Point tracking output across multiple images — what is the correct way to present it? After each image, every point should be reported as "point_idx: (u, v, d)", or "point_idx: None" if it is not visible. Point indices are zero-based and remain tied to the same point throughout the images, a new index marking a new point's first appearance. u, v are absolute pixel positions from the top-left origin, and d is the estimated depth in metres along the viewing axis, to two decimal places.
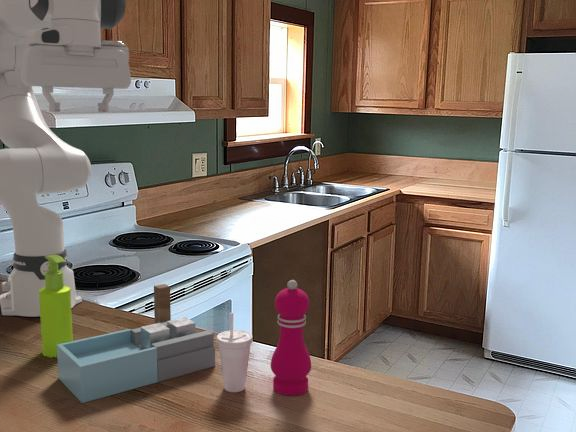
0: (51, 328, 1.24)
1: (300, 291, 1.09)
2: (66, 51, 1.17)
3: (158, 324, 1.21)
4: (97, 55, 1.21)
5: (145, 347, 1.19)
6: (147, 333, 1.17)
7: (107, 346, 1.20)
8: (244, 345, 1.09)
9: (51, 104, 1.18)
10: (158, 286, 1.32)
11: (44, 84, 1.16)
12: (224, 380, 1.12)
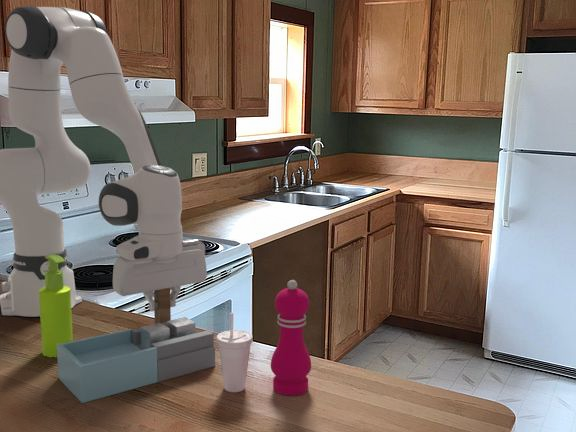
0: (51, 328, 1.24)
1: (300, 291, 1.09)
2: (153, 260, 1.29)
3: (158, 324, 1.21)
4: (179, 258, 1.32)
5: (145, 347, 1.19)
6: (147, 333, 1.17)
7: (107, 346, 1.20)
8: (244, 345, 1.09)
9: (151, 304, 1.31)
10: None
11: (134, 293, 1.27)
12: (224, 380, 1.12)
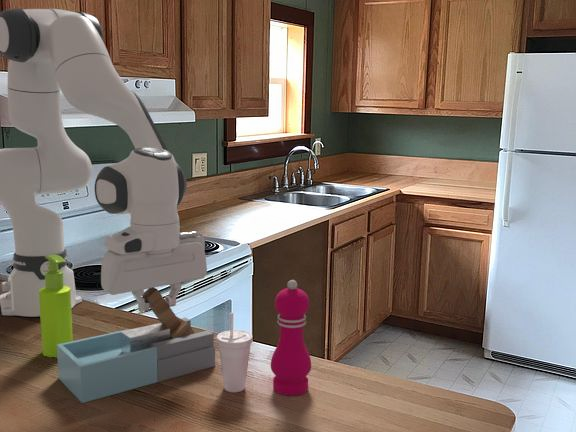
0: (51, 328, 1.24)
1: (300, 291, 1.09)
2: (147, 254, 1.14)
3: (139, 329, 1.19)
4: (176, 252, 1.18)
5: (125, 352, 1.16)
6: (128, 338, 1.15)
7: (107, 346, 1.20)
8: (244, 345, 1.09)
9: (141, 305, 1.16)
10: (145, 294, 1.17)
11: (125, 291, 1.13)
12: (224, 380, 1.12)
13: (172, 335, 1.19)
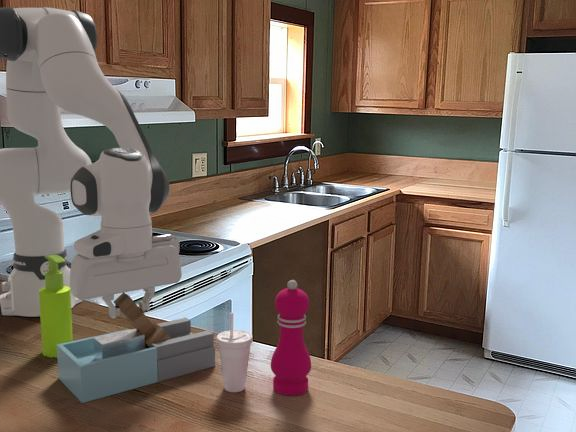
0: (51, 328, 1.24)
1: (300, 291, 1.09)
2: (117, 258, 1.11)
3: (112, 334, 1.16)
4: (148, 256, 1.14)
5: (98, 359, 1.13)
6: (100, 345, 1.12)
7: None
8: (244, 345, 1.09)
9: (111, 310, 1.13)
10: (117, 301, 1.14)
11: (95, 296, 1.09)
12: (224, 380, 1.12)
13: (147, 341, 1.16)
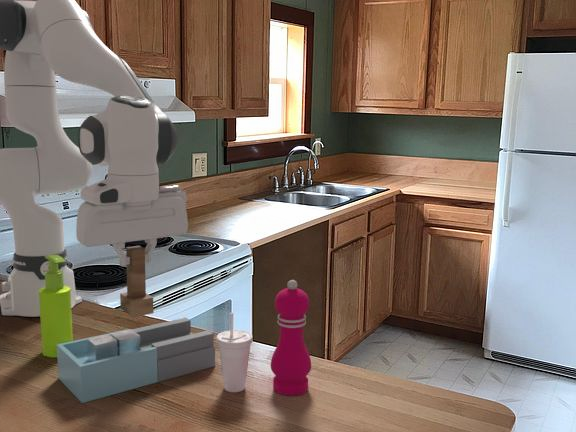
0: (51, 328, 1.24)
1: (300, 291, 1.09)
2: (124, 207, 1.10)
3: (106, 335, 1.15)
4: (155, 206, 1.14)
5: (91, 360, 1.13)
6: (93, 346, 1.11)
7: None
8: (244, 345, 1.09)
9: (122, 259, 1.13)
10: (131, 248, 1.14)
11: (101, 244, 1.09)
12: (224, 380, 1.12)
13: (133, 300, 1.13)
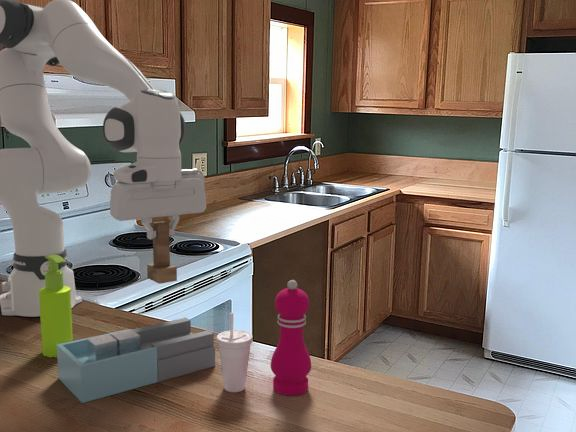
0: (51, 328, 1.24)
1: (300, 291, 1.09)
2: (151, 186, 1.26)
3: (106, 335, 1.15)
4: (178, 186, 1.29)
5: (91, 360, 1.13)
6: (93, 346, 1.11)
7: None
8: (244, 345, 1.09)
9: (149, 232, 1.29)
10: (157, 223, 1.30)
11: (132, 218, 1.24)
12: (224, 380, 1.12)
13: (159, 268, 1.29)
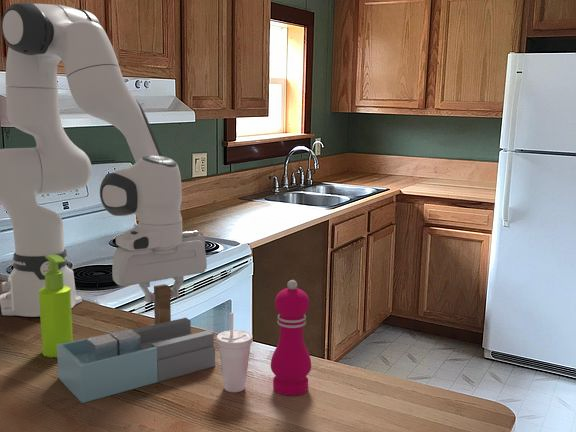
0: (51, 328, 1.24)
1: (300, 291, 1.09)
2: (153, 251, 1.28)
3: (106, 335, 1.15)
4: (179, 249, 1.32)
5: (91, 360, 1.13)
6: (93, 346, 1.11)
7: None
8: (244, 345, 1.09)
9: (147, 296, 1.30)
10: (158, 286, 1.32)
11: (134, 283, 1.27)
12: (224, 380, 1.12)
13: None
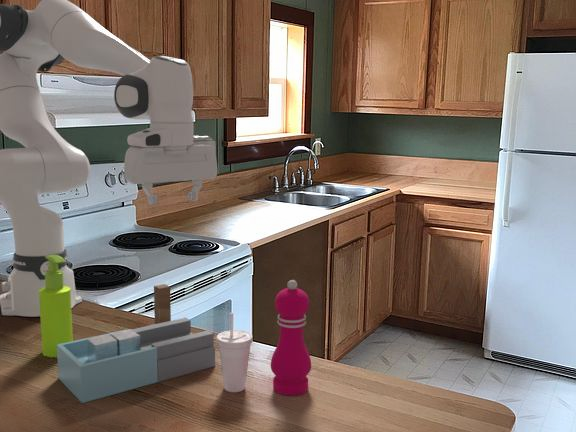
0: (51, 328, 1.24)
1: (300, 291, 1.09)
2: (164, 150, 1.29)
3: (106, 335, 1.15)
4: (190, 151, 1.32)
5: (91, 360, 1.13)
6: (93, 346, 1.11)
7: None
8: (244, 345, 1.09)
9: (150, 198, 1.30)
10: (158, 286, 1.32)
11: (145, 182, 1.27)
12: (224, 380, 1.12)
13: None
